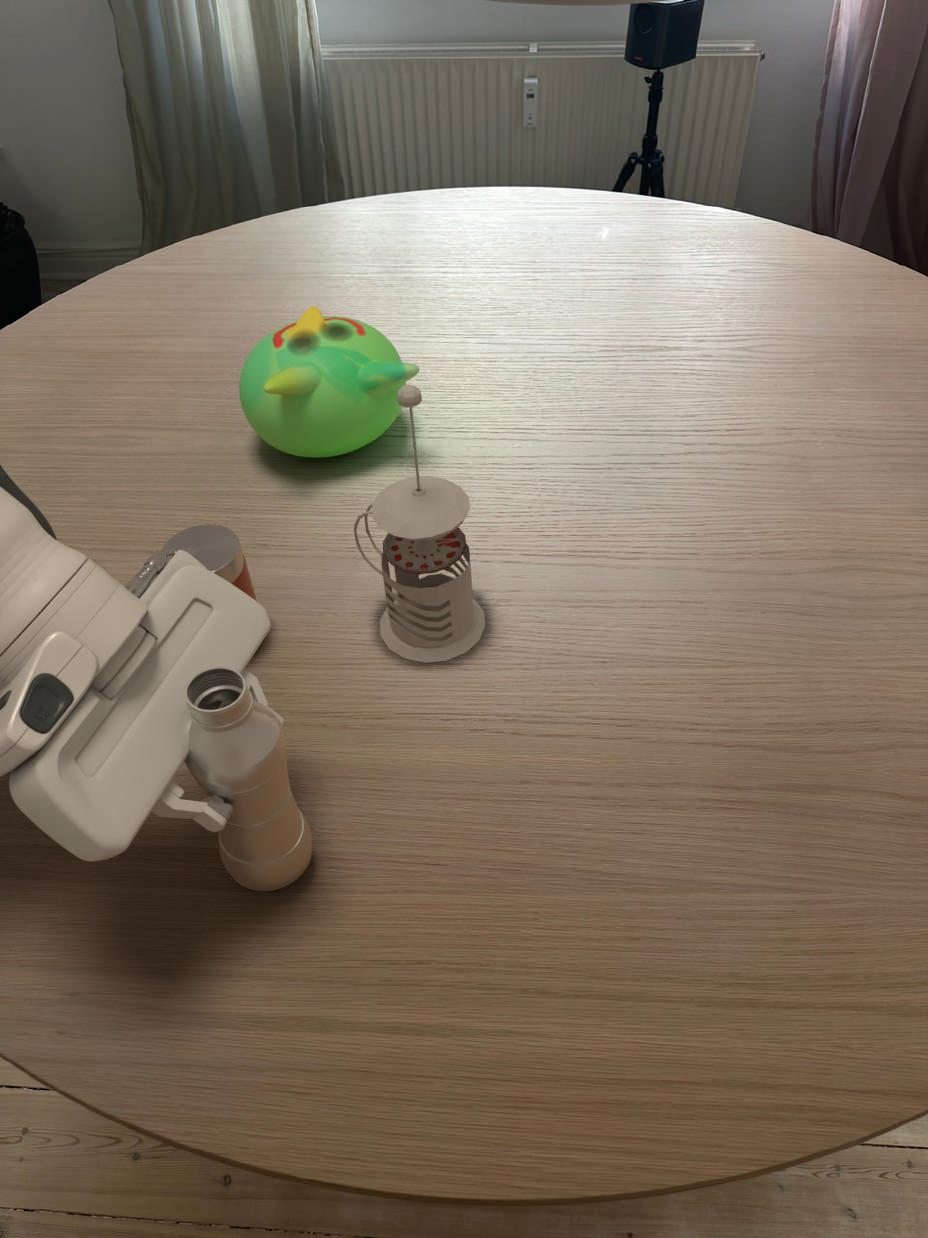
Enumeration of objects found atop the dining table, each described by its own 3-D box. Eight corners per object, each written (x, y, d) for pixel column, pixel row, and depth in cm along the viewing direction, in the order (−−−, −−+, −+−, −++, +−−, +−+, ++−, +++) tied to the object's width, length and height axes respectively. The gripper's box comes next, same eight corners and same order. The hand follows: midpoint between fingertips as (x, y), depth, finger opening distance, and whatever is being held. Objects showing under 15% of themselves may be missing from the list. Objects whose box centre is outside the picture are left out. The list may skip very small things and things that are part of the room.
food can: (185, 669, 88) (152, 579, 80) (197, 615, 93) (166, 525, 85) (261, 664, 88) (234, 574, 80) (269, 611, 92) (244, 521, 85)
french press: (452, 677, 86) (431, 438, 68) (342, 634, 90) (295, 399, 72) (504, 606, 91) (498, 369, 74) (398, 568, 96) (368, 336, 78)
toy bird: (384, 386, 119) (370, 270, 108) (435, 461, 108) (425, 341, 97) (239, 424, 114) (210, 307, 104) (276, 507, 103) (248, 385, 93)
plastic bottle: (253, 815, 76) (193, 638, 62) (332, 839, 74) (289, 663, 60) (211, 887, 72) (136, 715, 57) (294, 914, 70) (238, 744, 56)
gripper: (146, 554, 69) (294, 676, 74) (-46, 786, 56) (149, 918, 60) (187, 516, 65) (341, 649, 69) (-11, 758, 51) (196, 902, 56)
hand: (251, 776), depth 65 cm, fingers closed on plastic bottle, 6 cm apart
